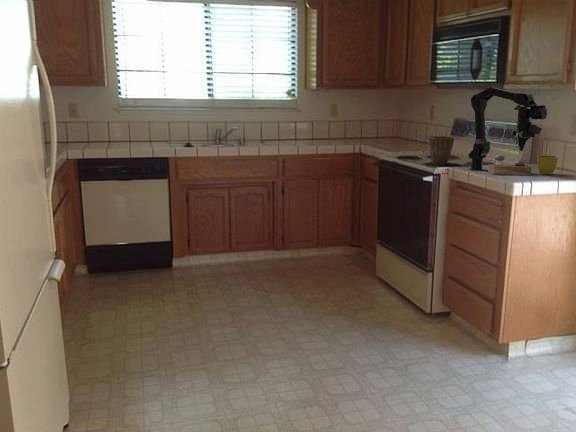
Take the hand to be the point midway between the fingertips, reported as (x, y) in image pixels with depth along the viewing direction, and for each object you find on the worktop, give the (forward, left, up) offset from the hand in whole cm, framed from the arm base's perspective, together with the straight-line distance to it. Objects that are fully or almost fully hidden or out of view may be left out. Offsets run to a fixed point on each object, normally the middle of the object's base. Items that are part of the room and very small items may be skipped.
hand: (521, 150), depth 273 cm
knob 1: (0, -10, -8) cm, 13 cm away
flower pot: (0, +13, -12) cm, 17 cm away
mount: (0, -5, -12) cm, 13 cm away
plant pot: (-43, -32, -12) cm, 55 cm away
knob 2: (0, 0, -11) cm, 11 cm away
